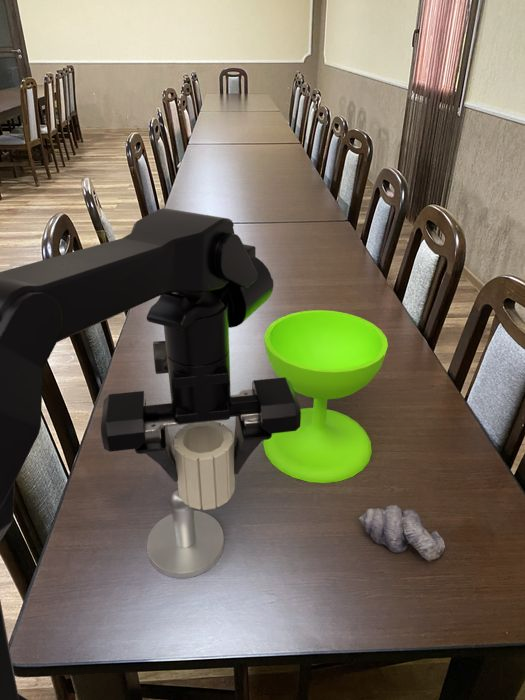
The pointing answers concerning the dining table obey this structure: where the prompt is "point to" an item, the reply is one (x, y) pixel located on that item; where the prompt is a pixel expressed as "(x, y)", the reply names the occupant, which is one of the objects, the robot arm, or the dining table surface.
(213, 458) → the beige fluted tube
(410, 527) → the seashell
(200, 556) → the stand
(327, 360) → the wineglass
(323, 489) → the dining table surface
